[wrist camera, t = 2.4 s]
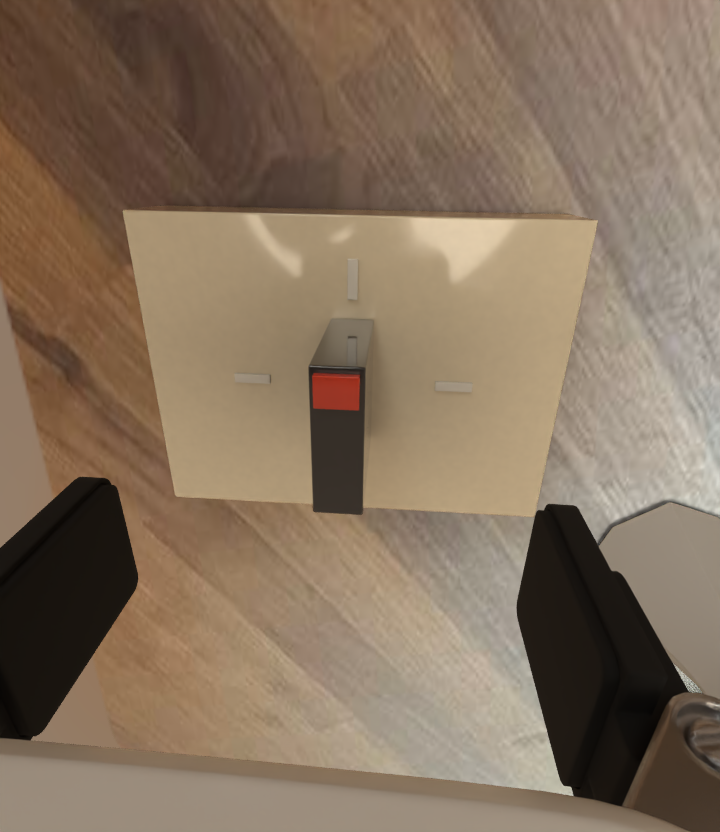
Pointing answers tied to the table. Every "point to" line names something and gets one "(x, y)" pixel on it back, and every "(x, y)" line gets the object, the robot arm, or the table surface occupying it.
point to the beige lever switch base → (392, 354)
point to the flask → (675, 583)
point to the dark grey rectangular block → (341, 415)
